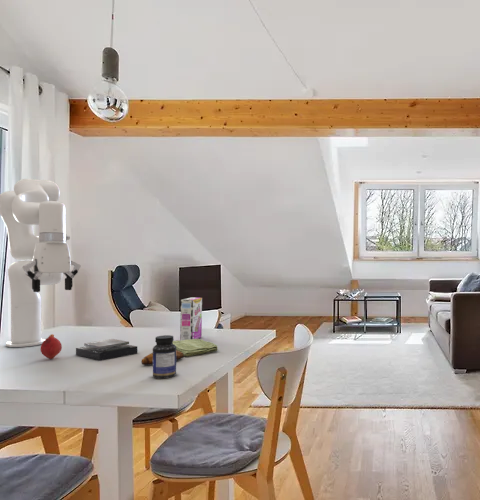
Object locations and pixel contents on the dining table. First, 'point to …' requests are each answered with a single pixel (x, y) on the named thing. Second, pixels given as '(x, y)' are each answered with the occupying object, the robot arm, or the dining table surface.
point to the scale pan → (106, 343)
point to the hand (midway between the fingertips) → (52, 290)
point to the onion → (51, 347)
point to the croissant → (149, 358)
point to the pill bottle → (164, 357)
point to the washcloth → (194, 347)
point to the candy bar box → (191, 318)
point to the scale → (106, 352)
